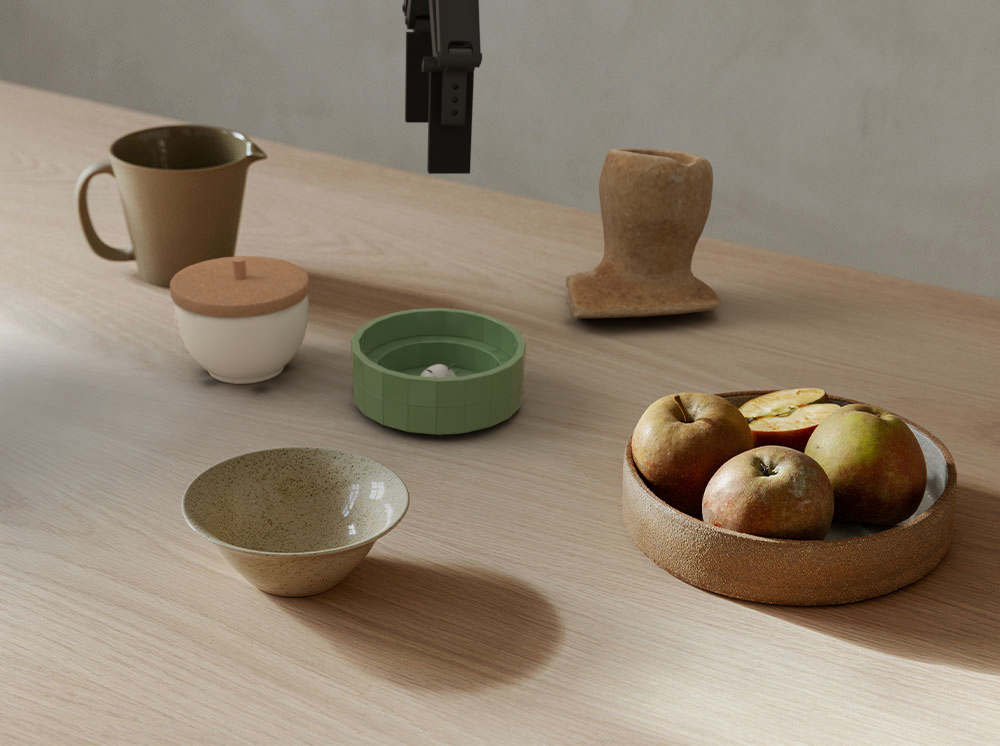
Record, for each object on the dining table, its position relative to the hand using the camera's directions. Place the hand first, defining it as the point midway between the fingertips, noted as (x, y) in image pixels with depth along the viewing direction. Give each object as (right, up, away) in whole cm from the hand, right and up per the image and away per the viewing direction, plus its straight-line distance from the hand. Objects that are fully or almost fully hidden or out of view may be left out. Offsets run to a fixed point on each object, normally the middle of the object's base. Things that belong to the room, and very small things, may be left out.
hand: (435, 145), depth 78 cm
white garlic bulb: (0, -18, +8) cm, 20 cm away
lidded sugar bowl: (-16, -16, +13) cm, 26 cm away
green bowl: (0, -18, +9) cm, 20 cm away
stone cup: (+17, -10, +28) cm, 34 cm away
